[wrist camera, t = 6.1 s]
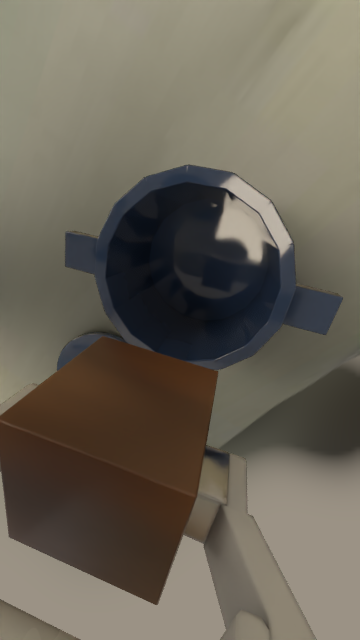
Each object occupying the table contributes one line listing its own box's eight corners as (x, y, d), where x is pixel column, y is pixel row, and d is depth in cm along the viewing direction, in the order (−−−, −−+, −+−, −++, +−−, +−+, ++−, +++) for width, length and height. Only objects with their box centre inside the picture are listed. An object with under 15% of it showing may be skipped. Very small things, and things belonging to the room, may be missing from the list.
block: (94, 423, 11) (8, 537, 7) (102, 335, 9) (-7, 418, 5) (190, 458, 10) (157, 606, 6) (218, 371, 9) (197, 497, 5)
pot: (280, 347, 24) (297, 406, 16) (112, 301, 26) (57, 332, 18) (335, 212, 19) (397, 201, 11) (125, 172, 22) (57, 140, 14)
